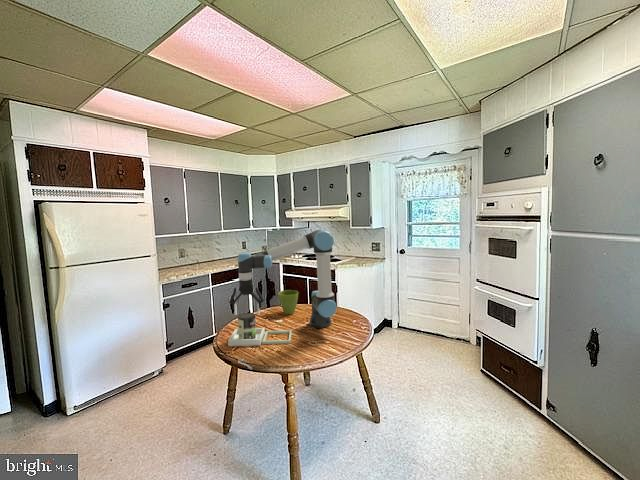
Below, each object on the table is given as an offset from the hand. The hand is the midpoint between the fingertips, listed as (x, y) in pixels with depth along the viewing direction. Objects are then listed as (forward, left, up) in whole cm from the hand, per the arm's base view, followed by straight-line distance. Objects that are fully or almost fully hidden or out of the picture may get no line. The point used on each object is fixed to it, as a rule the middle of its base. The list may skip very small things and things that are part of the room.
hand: (247, 314), depth 178 cm
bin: (0, 0, -16) cm, 16 cm away
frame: (-18, -1, -16) cm, 23 cm away
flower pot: (-22, -48, -16) cm, 55 cm away
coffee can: (+1, 0, -15) cm, 15 cm away
